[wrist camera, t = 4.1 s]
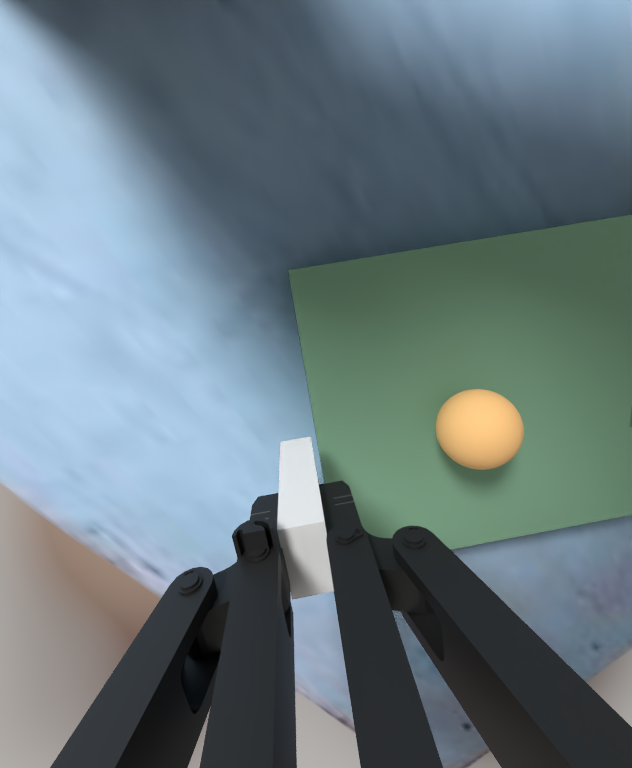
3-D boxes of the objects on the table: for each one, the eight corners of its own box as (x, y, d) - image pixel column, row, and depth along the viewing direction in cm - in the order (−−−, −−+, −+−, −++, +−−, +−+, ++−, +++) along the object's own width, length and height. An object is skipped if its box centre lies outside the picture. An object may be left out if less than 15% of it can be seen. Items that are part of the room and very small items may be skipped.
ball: (409, 423, 19) (439, 457, 15) (456, 365, 19) (500, 386, 15) (460, 459, 20) (501, 500, 16) (507, 405, 20) (561, 434, 16)
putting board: (334, 542, 24) (347, 614, 19) (288, 272, 19) (288, 266, 14) (718, 469, 25) (833, 518, 20) (769, 194, 20) (942, 160, 15)
